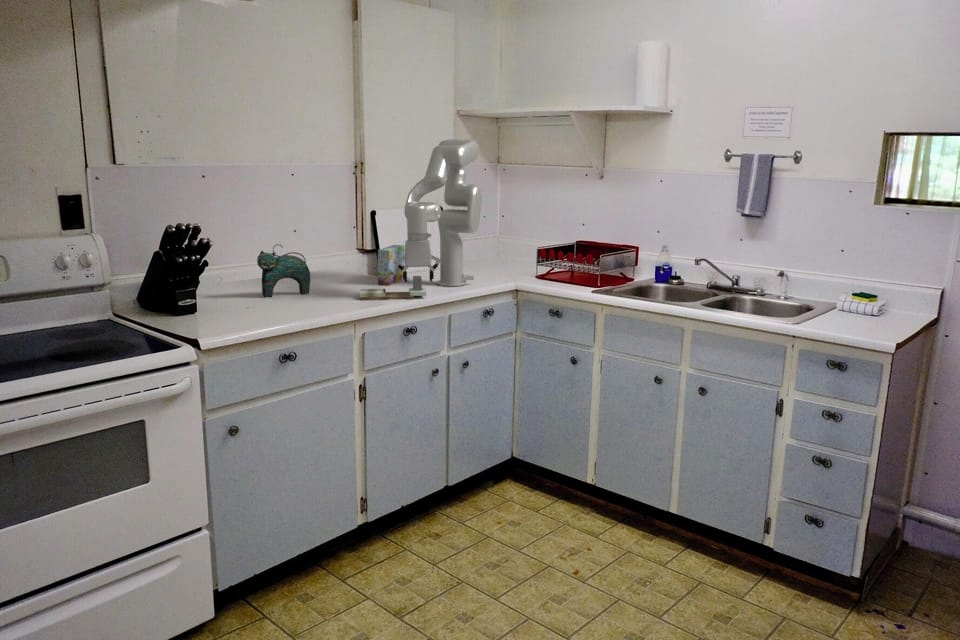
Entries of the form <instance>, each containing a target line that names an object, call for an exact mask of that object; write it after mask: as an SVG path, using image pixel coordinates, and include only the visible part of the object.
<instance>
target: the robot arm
mask: <svg viewBox="0 0 960 640" xmlns="http://www.w3.org/2000/svg"><path fill="white" fill-rule="evenodd" d="M479 154H480V147H479V144H478V142H477V141H476V140H474V139H445V140H442V141H440V142H439V144H438V145H436V146H435V147H433V149H432V152H431V155H430V158H429V162H428V165H427V168H426V171H425V175H424V177H423V178H422V179H420V180H419V181H418V182H417V183H416V184H415V185H413V187H412V188H411V189H410V191H409V192H408V194H407V197H406V201H405V204H404V212H403V213H404V217H405V218H406V227H407V229H406V230H407V231H406V232H407V234H406V235H407V239H406V240H405V242H404V256H402V257H400V258H399V259H397V260H395V262H396V264H397V266H398V268H400V269H401V270H402V271H403V279H402V280H404V282H405V283H407V282H408V273H407V272H408V271H407V270H409V268H422V267H423V268H424V267H425V268H426V267H427V268H428V269H429V271H428V272H429V281H430V282H431V283H432V282H433V279H434V278H435V277H434V273H435V270H436V269H437V268H438V266H440V267H439V274H440V276H439V278H440V279H439V280H437V281H436V285H438V286H442V287H462V285H463V286H466V285H467V281H473V280H474V275H469V274H468V275H466V274H464V273H463V270H464V269H463V267H464V266H463V263H464V262H463V261H464V260H463V258H464V257H463V255H464V254H463V251H464V250H463V247H464V246H463V245H464V244H463V243H464V242H463V240H462V238H461V236H460V234H474V233H476V232H477V231H478V229H479V226H480V219H481V210H482V202H483V201H482V200H483V199H482V197H483V194H482V190H481V188H480V186H479V185H477V184H474V183H467V182H466V181H467V170H466V168H465V167H466V166H467V165H469V164H471V163H473V162H474V161H476V160H477V159H478V156H479ZM443 187H444V192H443V193H444V195H443V201H444V203H445V205H447V206H450V207H456V208H460V207H461V208H467V209H453V208H451V209H449V208H448V209H444V210H442V209H441V208H442V207H440V205H439V204H438V203H437V202H429V201H421V199H422V198H423V197H424V196H426V195H427V194H430V193H431V192H434V191H436V190H438V189H441V188H443ZM434 222H437V225H438V229H439V232H438V233H439V244H440V245H439V248H440V249H439V250H440V251H439V253H440V254H439V256H440V257H436V256H434V255H432V250H431V243H430V239H429V238H432V233H428V223H434ZM403 260H404V267H403V266H401V264H400V262H401V261H403ZM432 261H435V263H434V265H432Z"/></svg>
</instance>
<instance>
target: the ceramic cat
mask: <svg viewBox="0 0 960 640" xmlns="http://www.w3.org/2000/svg"><path fill="white" fill-rule="evenodd" d="M276 246H279V247H281V248H282V249H283V245H282V244H279V243H277V244H274V246H273V247H272V252H271V253H270V252H265V251H263V250H260V253H259V254H258V256H257V257H256V258H257V259H256V261H257V265H258V266H257V267H259V268H260V269H261V270H262V273H261V293H262V297H263V296H264V297H263V298H265V297H270V298H273V297H272V296H273V294H274V289H275V286H276V285H277V283H278V282H279V281H281V280H283V279H291V280H294V281H296V283H298V288H299V294H300V293H301V294H300V295H308V294H307V293H309V294H310V287H311V271H310V269H309V267H308V265H307V261H306V258H305V256H304V255H303V254H302V253H300V252H293V251H291V252H288V253H285V254H282V255H278V254H276V252H275V250H274V248H275V247H276ZM291 254H294V255H291ZM295 254H296V255H295ZM297 255H299V256H301V257H302V258H303V259H302V258H301V257H298V256H297Z"/></svg>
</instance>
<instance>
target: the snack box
mask: <svg viewBox="0 0 960 640" xmlns="http://www.w3.org/2000/svg"><path fill="white" fill-rule="evenodd" d="M404 252H405V244H404V245H403V244H392V245H390V246H386V247H382V248H380V249H378V250H377V285H378V286H390V285H392V283H393V284H395V283H397V282H399V281H401V280H403V279H402V278H403V271H402V270H401V269H400V268H398V266H397V264H396V262H395V260H397V259H399V258H400V257H402V256H404ZM400 264H401V266H403V267H404V266H405V261H404V260H403V261H401V262H400ZM396 281H397V282H396Z"/></svg>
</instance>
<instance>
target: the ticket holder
mask: <svg viewBox="0 0 960 640" xmlns="http://www.w3.org/2000/svg"><path fill="white" fill-rule="evenodd" d="M389 299H406V300H414V296H410V293H409V291H387V290H386V288H361V289H360V290H359V300H360V301H390V300H389Z"/></svg>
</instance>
